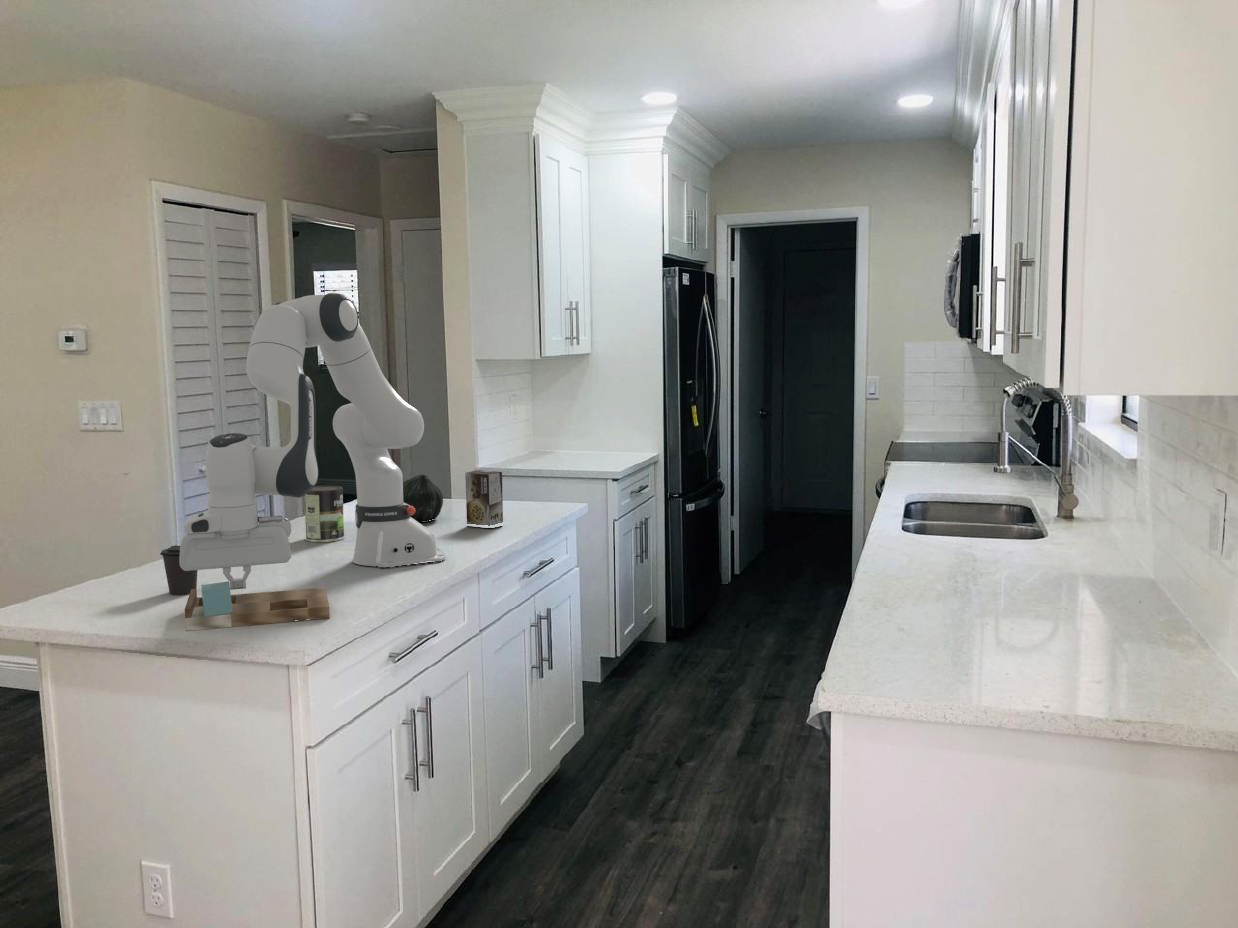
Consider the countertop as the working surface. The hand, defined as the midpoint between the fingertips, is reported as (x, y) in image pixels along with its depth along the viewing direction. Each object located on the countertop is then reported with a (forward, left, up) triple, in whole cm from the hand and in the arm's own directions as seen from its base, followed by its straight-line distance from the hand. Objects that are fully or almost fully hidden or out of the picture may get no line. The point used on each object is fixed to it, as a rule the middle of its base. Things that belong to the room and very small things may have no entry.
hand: (238, 588), depth 197 cm
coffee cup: (+12, -27, -6) cm, 30 cm away
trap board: (-4, -3, -6) cm, 8 cm away
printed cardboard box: (-65, -82, -6) cm, 104 cm away
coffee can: (-20, -78, -6) cm, 81 cm away
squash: (-48, -98, -6) cm, 109 cm away
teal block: (+4, +2, -4) cm, 6 cm away
